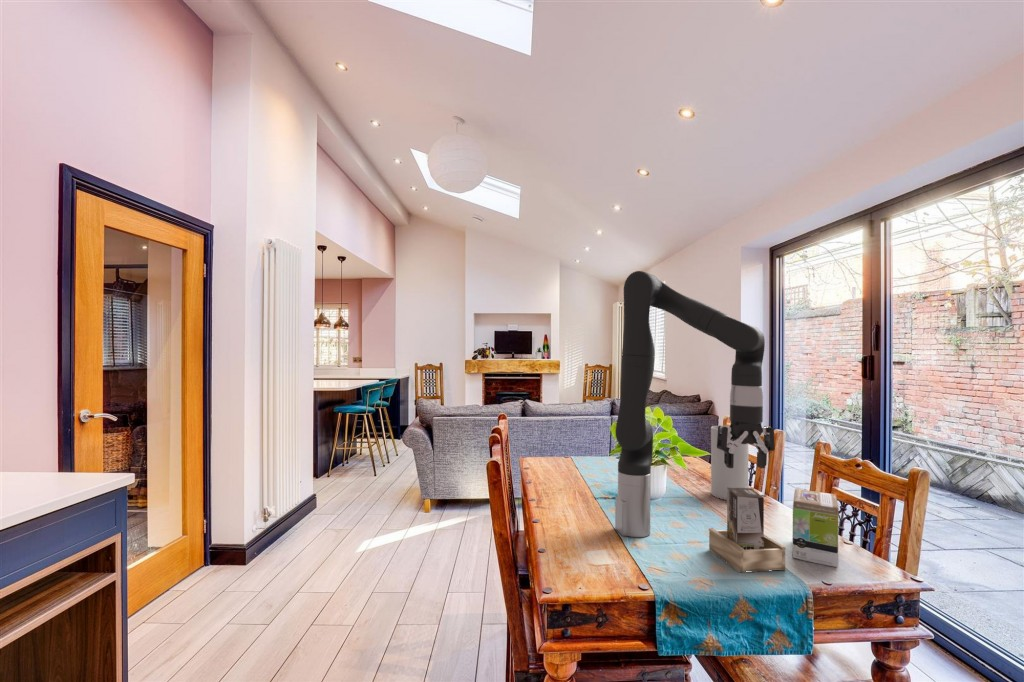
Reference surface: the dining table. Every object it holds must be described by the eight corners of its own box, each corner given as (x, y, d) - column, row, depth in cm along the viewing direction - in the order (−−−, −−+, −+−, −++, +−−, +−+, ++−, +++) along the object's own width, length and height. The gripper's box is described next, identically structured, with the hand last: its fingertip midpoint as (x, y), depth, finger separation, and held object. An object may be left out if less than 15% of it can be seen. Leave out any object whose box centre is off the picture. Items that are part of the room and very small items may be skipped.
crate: (739, 572, 113) (739, 548, 113) (708, 549, 127) (708, 528, 127) (785, 570, 114) (785, 547, 115) (749, 547, 128) (749, 526, 128)
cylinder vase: (715, 489, 184) (715, 424, 185) (751, 495, 177) (751, 428, 178) (707, 497, 174) (707, 428, 175) (744, 504, 167) (744, 432, 168)
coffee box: (765, 565, 116) (764, 497, 116) (736, 562, 117) (736, 496, 117) (752, 550, 125) (752, 487, 125) (726, 548, 126) (726, 486, 126)
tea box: (839, 568, 116) (839, 507, 117) (791, 559, 121) (791, 500, 122) (836, 548, 129) (836, 492, 129) (793, 540, 134) (793, 487, 135)
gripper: (728, 404, 117) (727, 471, 117) (782, 405, 119) (781, 471, 118) (711, 401, 124) (711, 464, 124) (762, 402, 126) (761, 464, 126)
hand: (745, 467), depth 121 cm, fingers open, 8 cm apart
